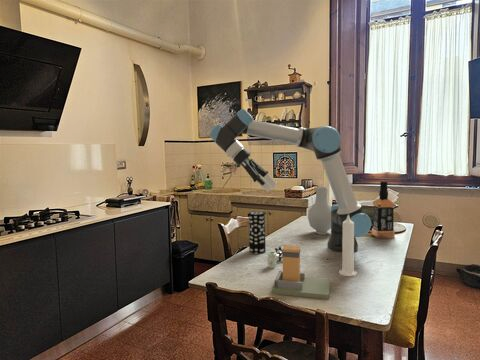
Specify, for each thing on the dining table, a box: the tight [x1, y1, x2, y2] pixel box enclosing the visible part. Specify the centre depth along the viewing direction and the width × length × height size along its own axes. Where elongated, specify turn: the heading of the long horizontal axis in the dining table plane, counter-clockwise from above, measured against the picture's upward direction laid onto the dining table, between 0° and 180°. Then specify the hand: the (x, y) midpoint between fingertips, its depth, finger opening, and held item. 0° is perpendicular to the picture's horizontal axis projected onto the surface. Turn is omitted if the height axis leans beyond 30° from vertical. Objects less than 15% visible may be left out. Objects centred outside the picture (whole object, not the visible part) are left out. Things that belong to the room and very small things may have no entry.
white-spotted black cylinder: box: [248, 210, 267, 255], centre depth 176 cm, size 8×8×20 cm
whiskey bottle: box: [371, 180, 396, 239], centre depth 199 cm, size 10×10×32 cm
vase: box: [307, 186, 332, 236], centre depth 208 cm, size 17×16×28 cm
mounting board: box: [272, 270, 331, 300], centre depth 131 cm, size 20×15×4 cm
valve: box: [267, 246, 283, 269], centre depth 158 cm, size 7×7×12 cm
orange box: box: [281, 244, 301, 282], centre depth 131 cm, size 6×5×14 cm
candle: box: [338, 215, 358, 278], centre depth 143 cm, size 7×7×25 cm
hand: (272, 187), depth 150 cm, fingers open, 13 cm apart
